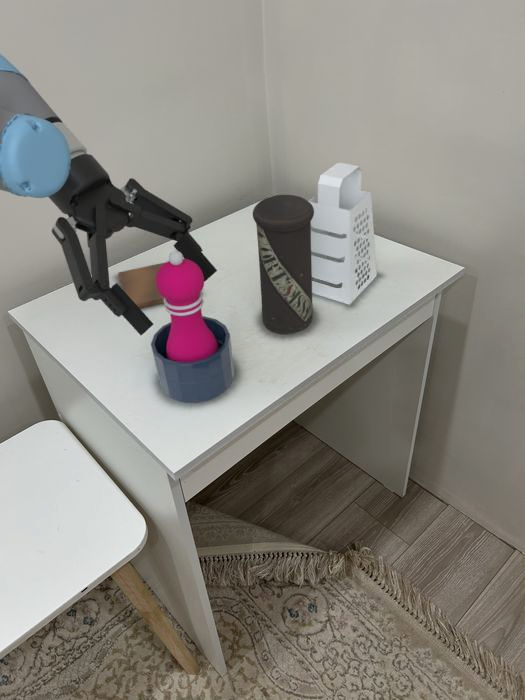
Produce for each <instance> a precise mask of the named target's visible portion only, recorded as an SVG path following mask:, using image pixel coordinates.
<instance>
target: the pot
mask: <svg viewBox="0 0 525 700" xmlns="http://www.w3.org/2000/svg"><path fill="white" fill-rule="evenodd" d="M202 317H203V320H204V322H205V324H206V326H207V327H208V328H209V330H210V331H211V332H212V333H213V335H214V337H215V338H216V340H217V344H218V348H219V351H218V352H216V353H214V354H213V355H211V356H209V357H208V358H205V359H201V360H198V361H194V362H175V361H172V360H168V359H167V352H166V347H167V341H168V337H169V334H170V330H171V321H170V322H168V323H166V324H164V325H162V326H161V327H160V328H159V329H158V330H157V331H156V332H155V333H154V334H153V337H152V339H151V342H150V347H151V352H152V355H153V360H154V363H155V368H156V372H157V376H158V380H159V383H160V387H161V390H162V391H163V393H164V394H165V395H166V396H167V397H169V398H170V399H172V400H174V401H177V402H180V403H186V404H198V403H203V402H207V401H211V400H214V399H215V398H217V397H219V396H221V395H222V394H224V393H225V392H226V391H227V390H228V389H229V388H230V386H232V383H233V381H234V377H235V365H234V358H233V357H234V356H233V350H232V340H231V334H230V332H229V329H228V327H227V326H226V324H225V323H223V322H221V321H219V320H218V319H216V318H214V317H210V316H209V317H208V316H206V315H205V316H204V315H202Z"/></svg>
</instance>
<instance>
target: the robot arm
mask: <svg viewBox="0 0 525 700" xmlns="http://www.w3.org/2000/svg"><path fill="white" fill-rule="evenodd" d="M87 149H88V148H87V147H86V146H85V145H84V144H83V143H82V141H80V139H79V138H78V137H77V136H76V135H75V134H74V132H73V131H72V130H71V129H70V128H69V127H68V126H67V125H66V124H65V123H64V122H63V120H62V119H61V118H60V117H59V116H58V115H57V113H56V112H55V111H54V109H52V107H51V106H50V105H49V104H48V103H47V101H45V99H44V98H43V97H42V96H41V94H40V93H39V92H38V91H37V90H36V88H35V87H34V86H33V85H32V84H31V82H30V81H29V79H28V78H27V77H26V76H25V75H24V74H23V73H21V72H20V70H19V69H18V68H17V67H16V66H15V65H14V64H13V63H12V62H10V61H9V60H8V59H7V58H6V56H4V55H3V54H1V53H0V191H4V192H7V193H11V194H12V195H15V196H18V197H25V198H27V197H29V198H33V199H44V198H49V199H50V201H51V202H52V203H53V204H54V205H55V206H56V207H57V209H58V210H59V211H60V212H61V213H62V214H64V215H67V216H68V217H67V218H65V217H64V216H59V217H58V218H57V219H56V221H55V223H54V224H53V227H52V229H51V233H52V235H53V236H54V237H55V239H56V240H57V242H58V243H59V244H60V246H61V249H62V252H63V255H64V257H65V260H66V261H65V262H66V264H67V267H68V270H69V273H70V276H71V279H72V282H73V285H74V288H75V291H76V294H77V297H78V299H79V300H80V301H82V302H87V301H88V300H90V299H92V300H94V301H100V300H101V301H102V303H103V304H104V305H105V306H106V307H107V308H108V309H109V311H111V313H112V314H113V315H114V316H116V317H118V318H120V317H121V316H122V317H123V318H124V319H125V320H126V321H127V322H128V323H129V325H130V326H131V327H132V328H133V329H134V331H136V332H137V333H138V334H139V335H140V336H143V335H144V334H145V333H146V332H147V331H148V330H149V329H150V328H152V327H153V326H154V325H155V323H154V322H153V321H152V320H151V319H150V318H149V317H148V316H147V315H146V314H145V313H144V311H143V310H142V308H139V307H138V306H137V305H136V304H135V303H134V302H133V300H132V299H131V298H130V297H129V296H128V295H127V294H126V293H125V292H124V290H123V289H122V286H120V284H119V283H118V282H116V283H115V284H113V285H112V286H111V283H110V272H109V262H108V249H107V241H106V240H108V239H110V238H111V237H112V236H113V235H114V233H118V232H120V231H122V230H123V229H124V228H125V227H126V228H137V229H140V230H143V231H145V232H149V233H151V234H154V235H158V236H160V237H163V238H166V239H169V240H172V241H175V243H174V244H173V247H174V248H175V251H179V252H181V253H182V255H183V259H188V260H190V261H193V262H194V263H196V264H197V265H198V266H199V267H200V269H201V271H202V273H203V276H204V283H205V282H206V281H208V279H210V278H211V277H212V276H213V275H214V274H216V273H217V272H218V270H217V268H216V267H215V266H214V264H212V263H211V261H210V260H209V259H208V258H207V256H205V255H204V253H203V248H202V246H201V245H200V244H199V243H198V242H197V241H196V239H195V238H194V237H193V236H192V235H191V234H190V232H189V230H190V229H191V227H192V226H191V224H192V223H193V221H194V219H193V218H192V217H191V215H188V214H187V213H185V212H184V211H182V210H181V209H179V208H177V207H175V206H174V205H172V204H170V203H168V201H165V200H164V199H162V198H160V197H159V196H157V195H155V194H153V193H152V192H150V191H149V190H147V189H146V188H145V187H143V186H142V185H141V184H140V182H139V181H137V180H136V179H135V178H131V177H130V178H129V179H128V180H127V182H126V183H125V185H124V186H123V187H121V188H118V187H116V186H115V185H114V184H113V183H112V180H111V177H110V174H109V173H108V171H106V169H105V168H104V167H103V166H102V165H101V164H100V163H99V162H98V160H97V159H96V157H94V156H93V155H92V154H90V153H88V150H87ZM77 230H80V231H82V232H84V233H86V242H87V247H88V248H89V260H90V269H89V265H88V262H87V259H86V257H85V253H84V250H83V247H82V243H81V242H80V238H79V236H78V234H77V232H78V231H77Z"/></svg>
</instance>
